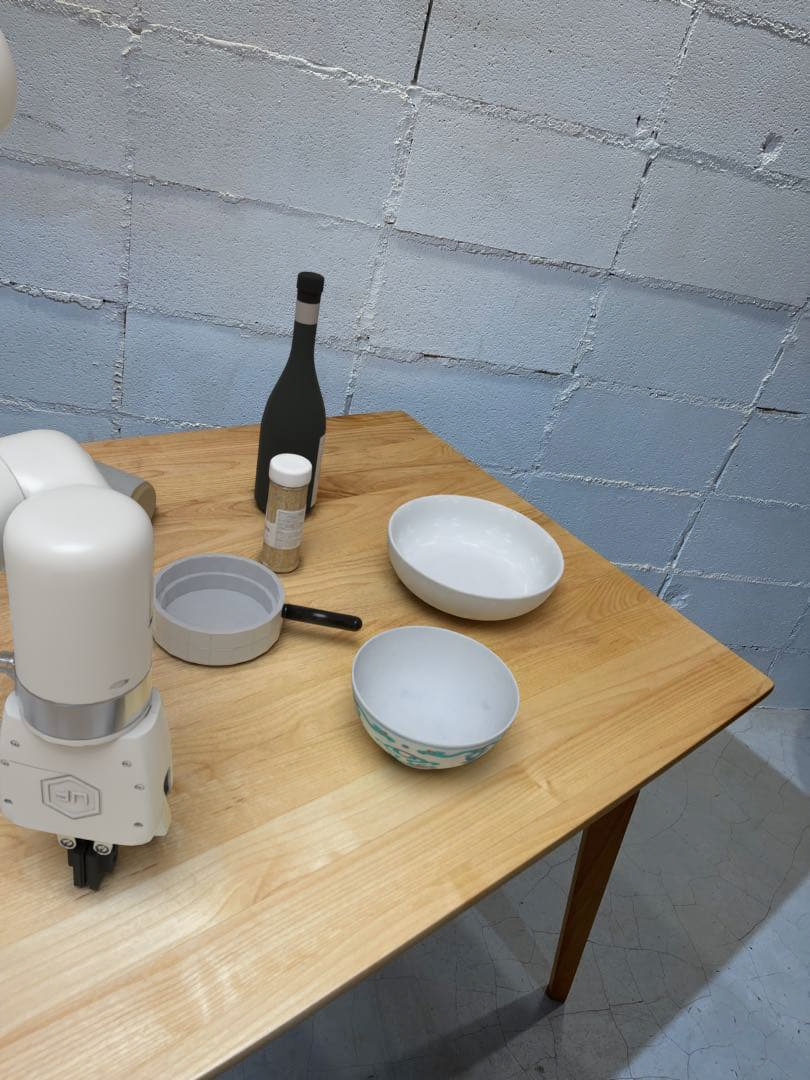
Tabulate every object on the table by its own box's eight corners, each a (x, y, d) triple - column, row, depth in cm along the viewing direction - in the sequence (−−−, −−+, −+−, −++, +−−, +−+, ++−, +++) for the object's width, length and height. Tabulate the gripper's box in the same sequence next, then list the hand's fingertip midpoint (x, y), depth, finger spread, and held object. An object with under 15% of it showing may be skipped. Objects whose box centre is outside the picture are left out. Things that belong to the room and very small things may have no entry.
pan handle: (276, 620, 82) (278, 608, 81) (279, 611, 83) (281, 598, 83) (360, 636, 82) (362, 624, 82) (362, 626, 84) (364, 614, 83)
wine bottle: (299, 486, 111) (327, 264, 95) (325, 517, 106) (359, 286, 90) (243, 493, 107) (263, 262, 91) (267, 525, 101) (293, 285, 86)
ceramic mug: (128, 553, 91) (128, 494, 87) (61, 534, 92) (59, 474, 88) (171, 511, 100) (174, 456, 96) (110, 494, 101) (110, 438, 97)
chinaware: (305, 731, 74) (315, 668, 70) (412, 664, 84) (427, 606, 80) (428, 839, 67) (448, 775, 63) (529, 751, 77) (552, 691, 73)
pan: (130, 655, 78) (130, 618, 76) (172, 577, 89) (173, 543, 87) (265, 679, 79) (270, 644, 76) (291, 599, 90) (295, 566, 87)
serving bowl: (397, 645, 86) (408, 594, 83) (365, 536, 103) (373, 489, 100) (575, 645, 92) (593, 597, 88) (517, 542, 109) (530, 498, 105)
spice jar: (259, 551, 96) (269, 450, 89) (298, 553, 98) (311, 453, 90) (260, 573, 93) (270, 470, 86) (300, 575, 94) (314, 473, 87)
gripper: (-74, 704, 46) (-38, 899, 55) (191, 752, 46) (180, 937, 56) (-7, 622, 52) (15, 810, 62) (225, 665, 52) (210, 844, 62)
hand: (94, 870), depth 59 cm, fingers closed
